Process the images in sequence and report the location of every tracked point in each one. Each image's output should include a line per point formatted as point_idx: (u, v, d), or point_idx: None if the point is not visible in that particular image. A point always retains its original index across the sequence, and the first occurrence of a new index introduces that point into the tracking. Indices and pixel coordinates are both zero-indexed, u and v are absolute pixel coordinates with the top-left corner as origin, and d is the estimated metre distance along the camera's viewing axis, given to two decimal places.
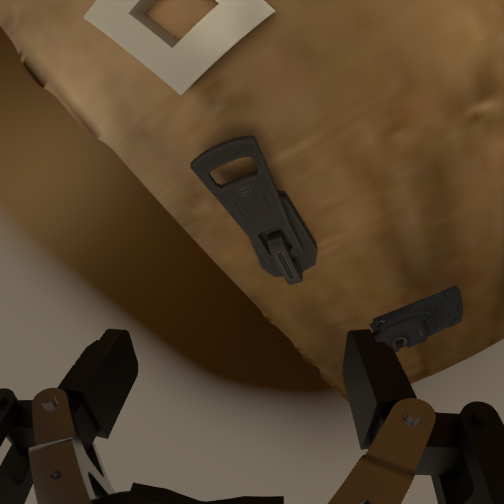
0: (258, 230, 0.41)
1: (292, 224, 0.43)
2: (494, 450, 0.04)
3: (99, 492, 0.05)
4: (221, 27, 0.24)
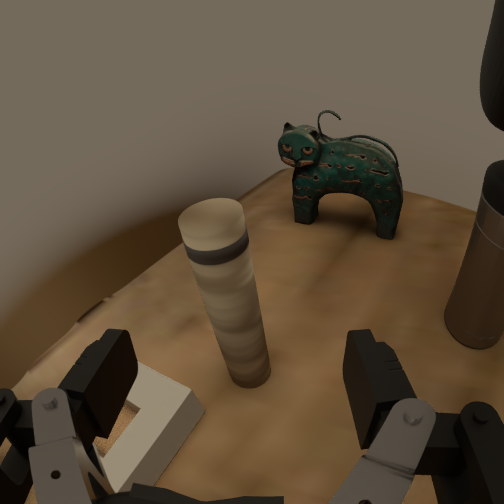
0: None
1: None
2: (494, 450, 0.04)
3: (99, 492, 0.05)
4: None
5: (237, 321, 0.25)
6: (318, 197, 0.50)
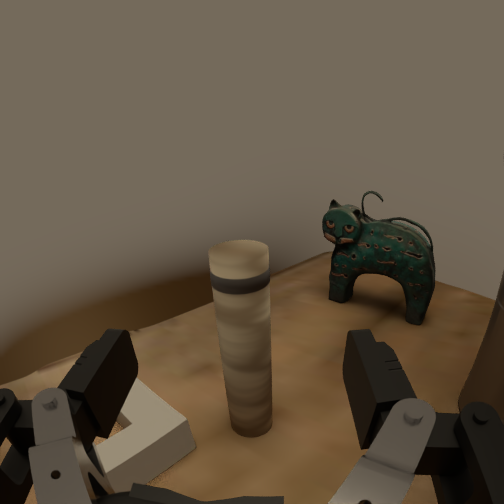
0: None
1: None
2: (494, 450, 0.04)
3: (99, 492, 0.05)
4: None
5: (245, 358, 0.25)
6: (354, 276, 0.51)
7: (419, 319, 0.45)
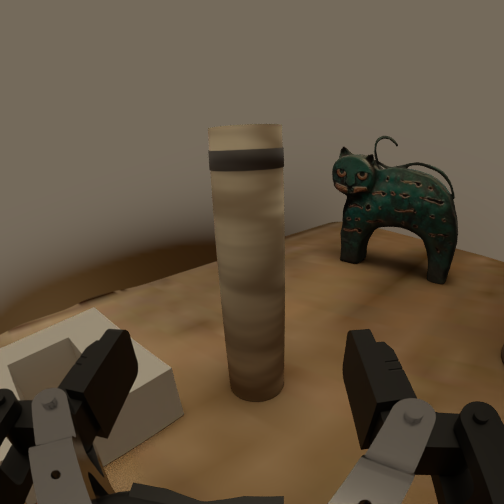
0: None
1: None
2: (494, 450, 0.04)
3: (99, 492, 0.05)
4: None
5: (251, 271, 0.19)
6: (368, 231, 0.45)
7: (442, 277, 0.39)
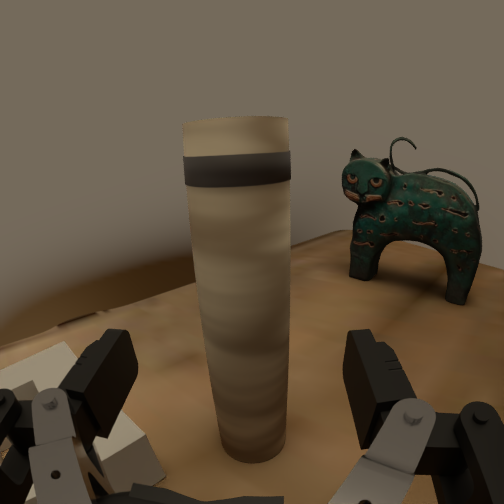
0: None
1: None
2: (494, 450, 0.04)
3: (99, 492, 0.05)
4: None
5: (244, 327, 0.14)
6: (382, 245, 0.39)
7: (463, 297, 0.33)
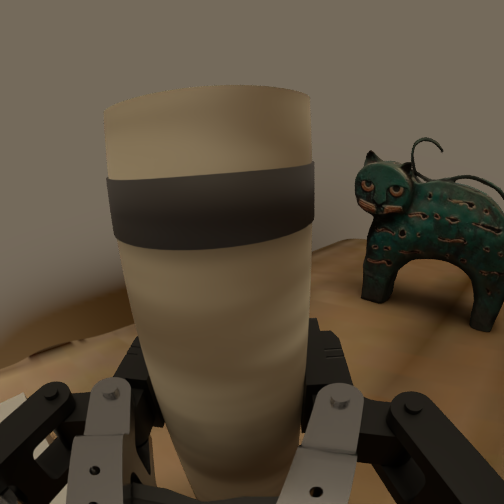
0: None
1: None
2: (436, 437, 0.05)
3: None
4: None
5: (229, 458, 0.07)
6: (400, 264, 0.33)
7: (490, 324, 0.27)
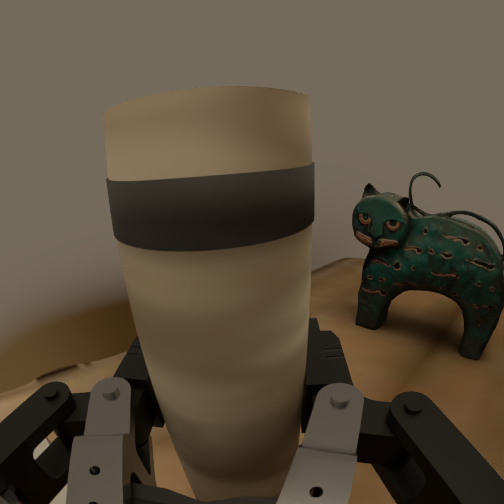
0: None
1: None
2: (436, 437, 0.05)
3: None
4: None
5: (229, 458, 0.07)
6: (394, 294, 0.34)
7: (479, 352, 0.28)
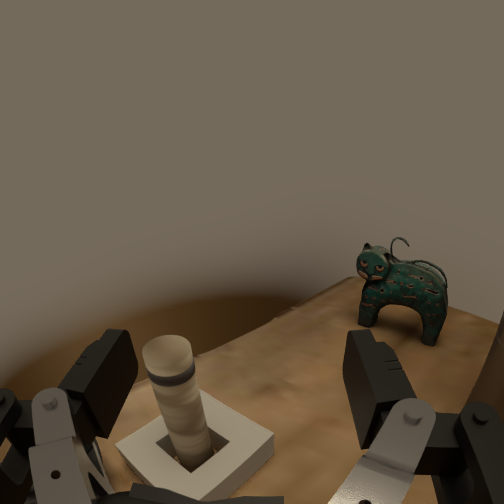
0: None
1: None
2: (494, 450, 0.04)
3: (99, 492, 0.05)
4: (167, 474, 0.27)
5: (179, 426, 0.28)
6: (381, 306, 0.59)
7: (433, 341, 0.52)
